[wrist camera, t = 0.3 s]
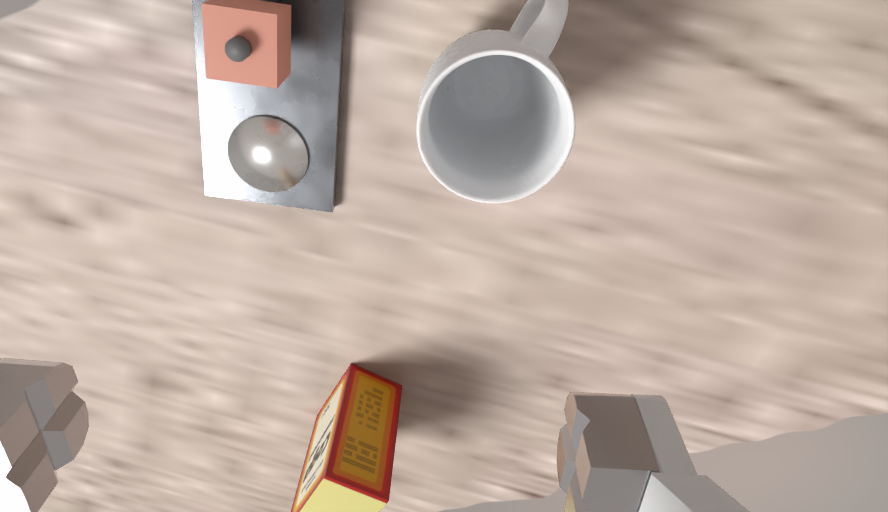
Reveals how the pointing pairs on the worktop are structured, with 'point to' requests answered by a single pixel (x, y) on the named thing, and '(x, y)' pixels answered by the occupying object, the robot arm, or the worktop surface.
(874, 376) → the worktop surface
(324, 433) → the baking soda box
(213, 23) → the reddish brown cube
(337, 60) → the base
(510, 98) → the mug
